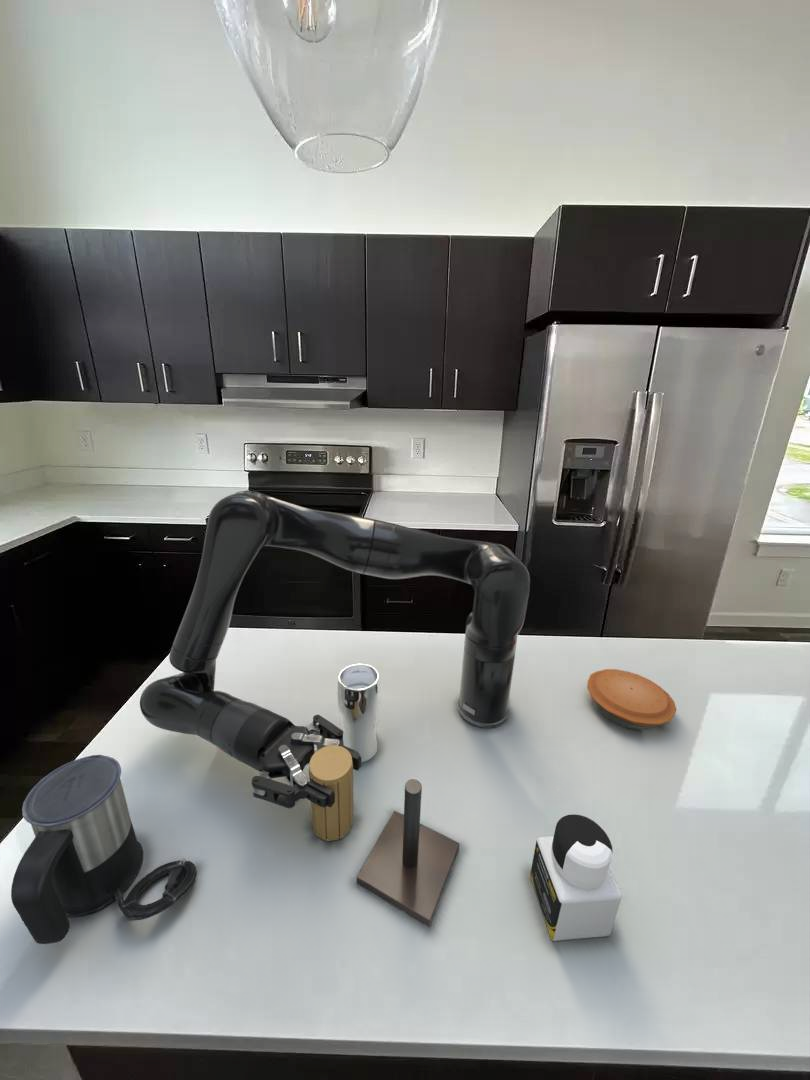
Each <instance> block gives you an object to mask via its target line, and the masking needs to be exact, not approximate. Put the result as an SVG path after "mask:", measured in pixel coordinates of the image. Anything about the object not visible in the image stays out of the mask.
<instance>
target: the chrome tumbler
mask: <svg viewBox="0 0 810 1080" xmlns="http://www.w3.org/2000/svg"><path fill="white" fill-rule="evenodd" d="M336 694H337V695H336V699H337V701H336V702H337V710H338V714H339V718H340V722H341V727H342V730H343V743H344V746H346V747H348V748H351V749H353V750H355V751H357V752H358V753H359V754H360V757H361V763H365V762H367V761H370V760H371V759H372V758H373V757H375V755H376V754H377V751H378V742H377V738H376V737H377V736H376V726H377V720H378V717H379V712H380V708H381V707H380V706H381V686H380V674H379V671H378V670H377V669H376V668H375V667H374V666H372V665H370V664H366V663H354V664H350V665H347V666H345V667H344V668H342V669H341V670H340V671H339V673H338V676H337V691H336Z"/></svg>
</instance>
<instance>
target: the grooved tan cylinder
mask: <svg viewBox="0 0 810 1080" xmlns="http://www.w3.org/2000/svg"><path fill="white" fill-rule="evenodd" d="M315 751H316V752H315V753H314V755H313V756H312V758H311V760H310V763H308V764H309V767H308V778H309V780H308V781H310V780H313V781H315V782H317V783H318V784H320V785H322V786H325V787H327V788H329V789H331V790H332V791H333V792H334V793H335V803H334V804H333V805H332V807H328V806H326V808H325V807H320V806H318V805H317V804H315V803H313V802H311V801H310V810H311V811H310V813H311V825H312V828H313V832H314V834H315V835H316V836H317V837H318V838H320V839H322V840H324V841H327V842H331V841H338V840H341V839H343V837H345V836H346V835H347V834H348V833H349V832H350V831H351V829H352V826H353V822H354V819H355V817H354V816H355V815H354V813H355V812H354V808H355V807H354V769H353V762H352V757H351V754H350V753H349V751H348V750H347V749H345V748H343V747H341V746H337V745H330V746H326V747H323V748H321V749H319V750H318V751H317V750H315Z"/></svg>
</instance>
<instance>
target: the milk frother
mask: <svg viewBox="0 0 810 1080" xmlns="http://www.w3.org/2000/svg"><path fill="white" fill-rule="evenodd" d="M121 775H122V767H121V764H120V763H119V761H118V759H115V758H114V757H111V756H109V755H103V754H92V755H88V756H85V757H84V756H83V757H80V758H78V759H74V760H71V761H68V762H67V763H65V764H63V765H61V766H60V767H59V766H58V767H57V768H55V769H54V770H53V771H51V772H49V773H48V774H46V775H45V776H43V778H41V779H40V780H39V781H38V782H37V783H36V784H35V785H34V786H33V787H32V788H31V789H30V791H29V792H28V794H27V795H26V797H25V799H24V801H23V803H22V807H21V812H22V813H21V814H22V817H23V819H24V820H25V821H26V823H29V824H30V825H31V828H32V832H33V834H34V839H33V840H32V841H31V843H30V845H28V847H27V849H26V850H25V852H24V854H23V855H22V857H21V859H19V862H18V864H17V867H16V870H15V872H14V874H13V875H14V876H13V878H12V883H11V889H10V890H11V891H10V897H11V903H12V905H13V907H14V909H15V911H16V912H17V914H18V916H19V917H20V919H21V921H22V922H23V924H24V926H25V927H26V929H27V931H28V932H29V934H30V935H31V937H32V939H33V940H34V942H35V943H36V944H38V945H49V944H56V943H59V942H62V941H63V940H64V939H65V938H66V937H67V935H68V933H69V931H70V928H71V922H70V920H69V918H68V916H84V915H85V916H86V915H88V914H91V913H94V912H97V911H99V910H102V909H104V908H105V907H107V906H108V905H110V904H111V903H112V902H114V901H115V900H116V903H117V906H118V908H119V910H120V912H121V913H122V915H123V916H124V918H126V920H127V919H128V920H130V921H142V920H145V919H148V918H149V919H150V918H152V917H154V916H156V915H158V914H160V913H162V912H164V911H166V910H167V909H169V908H170V907H172V906H173V905H174V904H176V903H177V902H179V901H180V900H181V899H182V898H183V897H184V896H185V895H186V894H187V893H188V892H189V891H190V889H192V888H193V886H194V884H195V882H196V879H197V876H198V870H197V866H196V864H195V863H193V862H192V861H190V860H186V859H185V857H184V858H183V857H182V858H181V859H179V860H174V861H169V862H167V863H164V864H162V865H159V866H158V867H156V868H154V869H153V870H152V871H150V872H149V873H147V874H146V875H145V876H143V877H141V879H140V880H139V881H138V882H137V883H136V884H134V886H133V887H132V888H131V889H130V891H129V892H128V894H127V896H126V897H125V899H124V896H123V893H124V892H125V891H126V890H127V889H128V888H129V887H130V886H131V884H132V883H133V882H134V881H135V878H137V875H138V874H139V872H140V870H141V867H142V864H143V861H144V850H143V846H142V843H141V842H140V841H138V838H137V835H136V832H135V828H134V825H133V821H132V818H131V814H130V810H129V807H128V801H127V798H126V795H125V791H124V787H123V783H122V780H121ZM167 874H169V875H168V878H167V882H166V883H165V886H164V891H163V892H162V897H161V898H159V899H157V900H155V901H153V902H150V903H147V904H141V903H139V902H137V900H138V897H140V895H141V893H142V892H143V891H144V890H145V889H147V887H148V886H149V885H151V883H153V882H154V881H156V880H157V879H159V878H161V877H162V876H164V875H167Z"/></svg>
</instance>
